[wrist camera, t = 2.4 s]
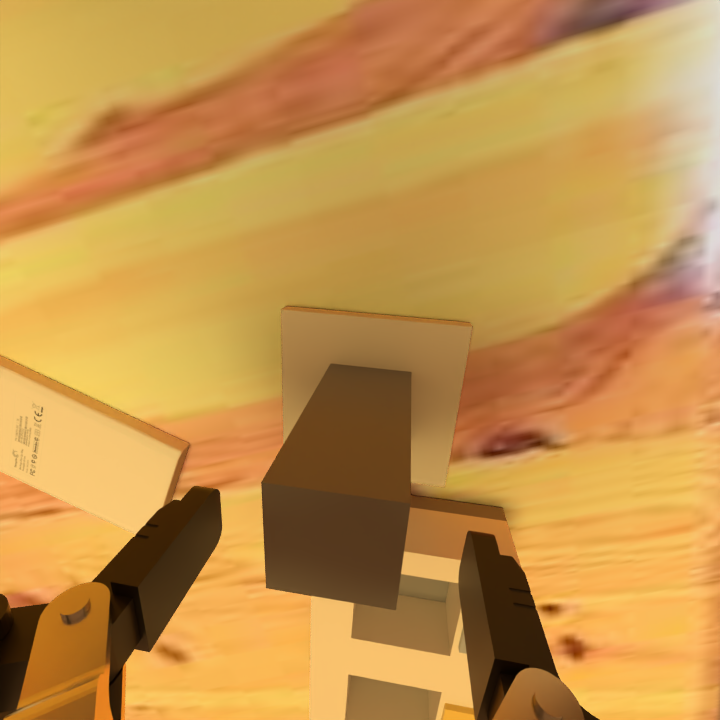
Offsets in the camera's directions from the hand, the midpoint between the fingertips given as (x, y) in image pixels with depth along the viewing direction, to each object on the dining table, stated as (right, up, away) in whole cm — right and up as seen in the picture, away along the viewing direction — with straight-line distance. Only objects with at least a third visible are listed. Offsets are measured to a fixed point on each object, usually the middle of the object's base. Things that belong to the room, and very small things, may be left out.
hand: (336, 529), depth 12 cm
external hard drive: (-17, 0, +13) cm, 21 cm away
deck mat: (+1, +3, +8) cm, 9 cm away
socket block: (+3, -10, +13) cm, 17 cm away
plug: (+1, +3, +7) cm, 8 cm away
